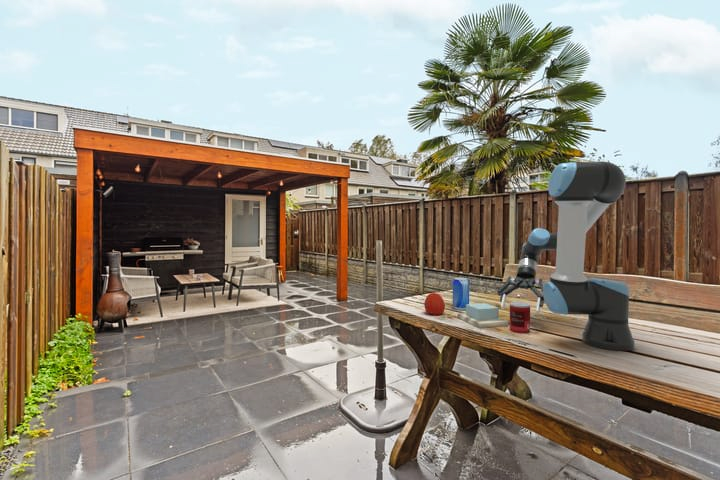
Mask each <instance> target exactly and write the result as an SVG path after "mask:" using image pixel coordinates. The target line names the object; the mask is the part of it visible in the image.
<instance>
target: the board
mask: <svg viewBox="0 0 720 480" xmlns="http://www.w3.org/2000/svg"><path fill="white" fill-rule="evenodd" d="M457 319H460V320H462V321H463V322H466V323H468V324H470V325H472V326H475V327H476V328H479V329H485V328H487V329H488V328H496V327H498V328H499V327H508V326H509V320H506V319H504V318H501V317H499V319H494V320H481V321H478V320H476V319H473V318H471V317H469V316H467V315H466V312H460V313H457Z"/></svg>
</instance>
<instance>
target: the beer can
mask: <svg viewBox="0 0 720 480" xmlns="http://www.w3.org/2000/svg"><path fill="white" fill-rule="evenodd" d="M466 304H470V282H469V281H468V278H466V277H455V278H454V279H453V281H452V307H453V309H454V310H456V311H466Z"/></svg>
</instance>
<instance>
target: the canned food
mask: <svg viewBox="0 0 720 480" xmlns="http://www.w3.org/2000/svg"><path fill="white" fill-rule="evenodd" d="M509 330H510V331H511V332H514V333H517V334H528V333H530V332H531V331H530V330H531V304H530V303H527V302H521V301H512V302H509Z"/></svg>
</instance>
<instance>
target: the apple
mask: <svg viewBox="0 0 720 480" xmlns="http://www.w3.org/2000/svg"><path fill="white" fill-rule="evenodd" d="M423 305H424V306H423V307H424V309H425V312H426V313H427V314H429V315H433V316H441V315H443V314H444V312H445V309H446V303H445V301H444V299H443V297H442V295H441V294H440V293H437V292H431V293H429V294H427V296H426V297H425V300H424V304H423Z"/></svg>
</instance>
